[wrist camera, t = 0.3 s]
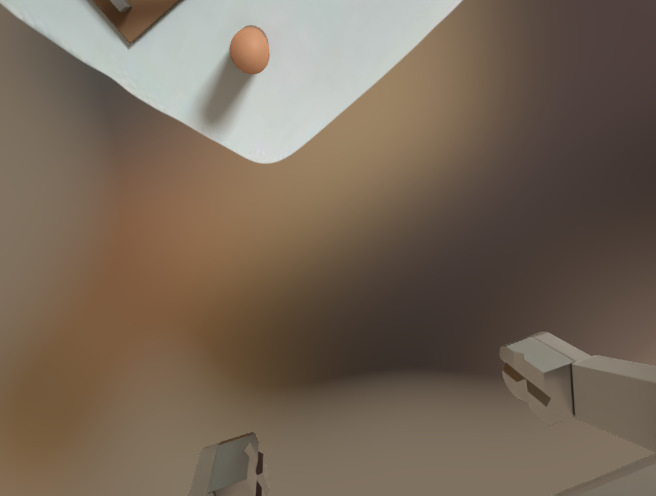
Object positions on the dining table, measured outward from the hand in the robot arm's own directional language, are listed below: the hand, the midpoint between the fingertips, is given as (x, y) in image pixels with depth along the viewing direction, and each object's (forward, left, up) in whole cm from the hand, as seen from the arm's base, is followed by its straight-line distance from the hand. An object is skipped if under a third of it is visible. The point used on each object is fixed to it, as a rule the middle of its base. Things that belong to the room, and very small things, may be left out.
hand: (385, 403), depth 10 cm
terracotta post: (-8, -1, -52) cm, 52 cm away
